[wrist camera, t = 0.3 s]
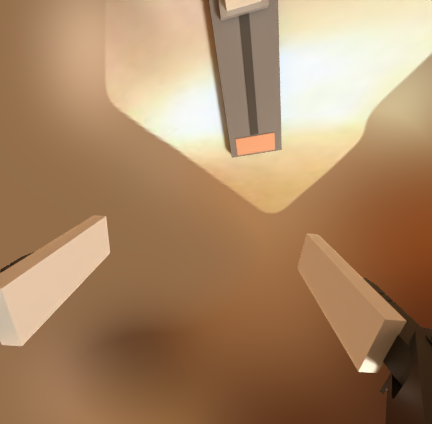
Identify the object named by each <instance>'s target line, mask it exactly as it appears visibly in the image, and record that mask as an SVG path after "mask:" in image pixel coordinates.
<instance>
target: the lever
mask: <svg viewBox="0 0 432 424" xmlns="http://www.w3.org/2000/svg"><path fill="white" fill-rule="evenodd" d="M268 6H269V0H219V7H220V15H221V21H222V20H226V19H229V18H233V17H237V16H240V15H244V14H247V13H251V12H254V11H258V10H261V9H265V8H268Z"/></svg>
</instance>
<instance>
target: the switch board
mask: <svg viewBox="0 0 432 424" xmlns="http://www.w3.org/2000/svg"><path fill="white" fill-rule="evenodd" d="M209 5H210V12H211V19H212V26H213V32H214V39H215V46H216V53H217V60H218V67H219V73H220V80H221V87H222V94H223V101H224V108H225V114H226V121H227V128H228V135H229V142H230V149H231V155H232V157H239V156H245V155H251V154H258V153H264V152H270V151H277V150H282V149H281V108H280V67H279V26H278V0H269V6H268V8H265V9H261V10H258V11H254V12H251V13H247V14H244V15H240V16H237V17H233V18H229V19H226V20H222V21H221V15H220V7H219V0H209Z"/></svg>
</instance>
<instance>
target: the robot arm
mask: <svg viewBox="0 0 432 424" xmlns="http://www.w3.org/2000/svg"><path fill="white" fill-rule="evenodd" d="M109 254H110V248H109V239H108V231H107V222H106V216H97V215H94V216H92V217H90V218H89V219H87V220H86V221H84V222H82V223H81V224H79V225H78V226H76V227H74V228H73V229H71V230H69V231H68V232H66V233H65V234H63V235H61V236H60V237H58V238H56V239H55V240H53V241H52V242H50V243H48V244H47V245H45V246H44V247H42V248H40V249H39V250H37V251H35V252H33V253H30V254H28V255H25V256H23V257H21V258H19V259H17V260H16V261H14V262H13V263H11V264H10V265H7V266H6V267H4V268H3V269H1V271H0V342H1V344H2V345H13V346H23V344H24V343H25V342H26V341H27V340H28V339H29V338H30V337H31V336H32V335H33V334H34V333H35V332H36V331H37V330H38V328H40V327H41V325H42V324H43V323H44V322H45V321H46V320H47V319H48V318H49V317H50V316H51V315H52V314H53V313H54V312H55V311H56V310H57V309H58V307H59V306H60V305H61V304H62V303H63V302H64V301H65V300H66V299H67V298H68V297H69V296H70V295H71V294H72V293H73V292H74V291H75V290H76V288H77V287H78V286H79V285H80V284H81V283H82V282H83V281H84V280H85V279H86V278H87V277H88V276H89V275H90V274H91V273H92V271H94V269H95V268H96V267H97V266H98V265H99V264H100V263H101V262H102V261H103V260H104V259H105V258H106V257H107V256H108V255H109ZM297 269H298V271H299V272H300V274H301V275H302V277H303V279H304V281H305V283H306V284H307V286H308V288H309V289H310V291H311V293H312V294H313V296H314V297H315V299H316V301H317V303H318V304H319V306H320V308H321V309H322V311H323V313H324V314H325V316H326V318H327V320H328V321H329V323H330V325H331V326H332V328H333V329H334V331H335V333H336V334H337V336H338V338H339V339H340V341H341V343H342V345H343V346H344V348H345V350H346V352H347V353H348V355H349V356H350V358H351V360H352V362H353V363H354V365H355V367H356V368H357V370H358V371H359V372H370V373H378V371H379V369H380V368H381V366H382V364H383V362H384V363H385V365H386V366H387V367H388V369H389V370H390V372H391V373H390V375H389V376H388V378H387V379H386V381H385V383H384V385H383V386H382V388H381V390H380V392H381V393H383V394H384V392H385V391H386V390H387V399H386V423H385V424H432V330H431V329H429V328H423V327H420V326H419V325H418V324H417V323H416V322H415V321H414V320H413V319H412V318H411V317H410V316H409V315H407V313H405V312H404V311H403V310H402V309H401V308H400V307H399V306H398V305H397V304H396V303H395V302H393V301H392V300H391V298H390V297H388V296H387V295H385V293H384V292H383V291H382V290H381V289H380V288H379V287H378V286H377V285H375V284H374V283H372V282H371V281H369V280H367V279H366V278H362V277H361V276H360V275H359V274H358V273H357V272H356V271H355V270H354V269H353V268H352V267H351V266H350V265H349V264H348V263H347V262H346V261H345V260H344V259H343V258H342V257H341V256H340V255H339V254H338V253H337V252H335V250H334V249H333V248H332V247H331V246H330V245H328V244H327V243H326V242H325V241H324V240H323V239H322V238H321V237H320V236H319V235H318V234H306V238H305V242H304V245H303V249H302V253H301V256H300V260H299V264H298V267H297Z"/></svg>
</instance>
